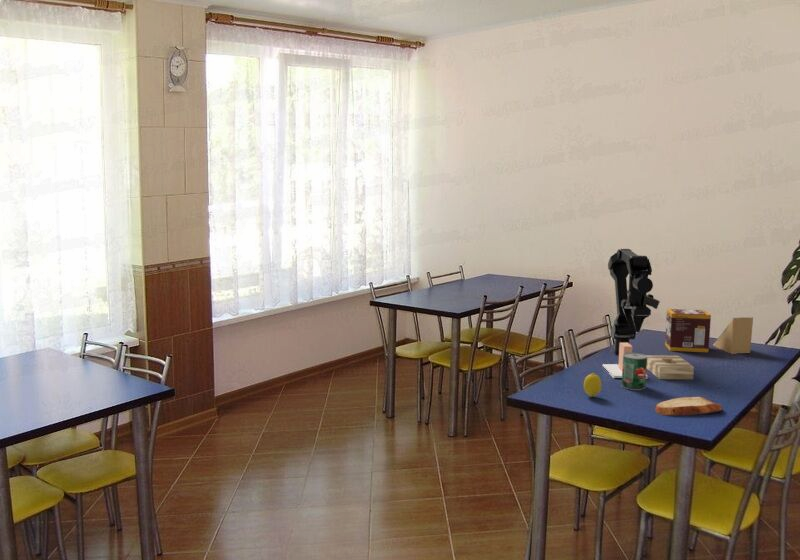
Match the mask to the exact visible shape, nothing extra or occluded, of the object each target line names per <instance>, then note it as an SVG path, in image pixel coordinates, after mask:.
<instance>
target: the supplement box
mask: <svg viewBox="0 0 800 560" xmlns="http://www.w3.org/2000/svg"><path fill="white" fill-rule="evenodd" d="M711 317H712V315H711V314H710V313H708V312H707V311H706V310H704V309H677V308H667V309H666V320H665V336H664V337H665V340H664V346H665V347H666V348H667V349H668V351H671V352H689V353H691V352H692V353H693V352H694V353H709V349H710V348H709V347H710V334H711V333H710V332H711V321H712V320H711V319H712V318H711Z"/></svg>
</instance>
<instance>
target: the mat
mask: <svg viewBox="0 0 800 560" xmlns="http://www.w3.org/2000/svg"><path fill="white" fill-rule="evenodd" d="M618 364H619V363H618ZM618 364H617V363H613V364H612V363H607V364H605V363H602V366H603V367H604V368H605V369H606V370H607V371H608V372H609V373H608V372H607V371H606V370H605V369H604V368H603V367H602V366H601V367H602V368H603V369H604V370H605V371H606V372H607V373H608V375H610V377H612V378H613V379H614V378H622V371H621V370H620V369H619V368H618ZM648 378H649V375H647V374H646V380H648Z"/></svg>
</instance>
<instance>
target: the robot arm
mask: <svg viewBox="0 0 800 560" xmlns="http://www.w3.org/2000/svg"><path fill="white" fill-rule="evenodd" d="M649 259H650V258H648V256H647V255H638V254H636V253H635V252H634V251H632V249H630V248H619V249H617V251H616V252H615V253H613V255H611V256H610V257H609V259H608V264H607V269H608V270H609V274H610V277H611V278H612V279H613V281H614V288H615V289H614V290H615V302H616V313H617V315H616V317H615V319H614V321H613V324H612V327H611V330H610V338H611V339H613V340H614V349H611V352H612V353H613V354H615V355H617V356H619V345H620V343H629V344H630V345H631V343H630V342H631V340H635V339H636V335H637V333H640V331H641V330H642V329H641V328H642V326H643V323H644V321H645V319H646V318H649V317H650V316H651V315H652V310H651V309H650V307H651V308H653V309H655V310H657V309H658V307H659V305H660V302H661V301H660V300H658V299H656V298H655V297H654V295H653V294H651V291H652V289H654V288H653V287H654V283H653V280H651V278H649V276H652V272H653V268H652V265H651V262H650V260H649ZM627 278H628V281H627ZM627 283H628V284H627Z"/></svg>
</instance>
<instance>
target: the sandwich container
mask: <svg viewBox="0 0 800 560" xmlns="http://www.w3.org/2000/svg"><path fill="white" fill-rule="evenodd" d="M753 323H754V318H753V317H751V316H750V317H744V316H743V317H742V316H741V317H733V318H732V319H731V321H730V322H729V323H728V325H727V326H726V328H725V329H724V330H723V331H722V333H721V334H720V335H719V336H718V338H717V339H716V341H715V342H713V344H712V346H714V347H715V348H718V349H719V350H722V351H723V350H724V352H725V353H727V354H728V353H729V354H730V353H731V355H735V354H736V355H738V354H737V353H750V354H751V349H752V348H751V345H752V337H753V335H752V334H753Z"/></svg>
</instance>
